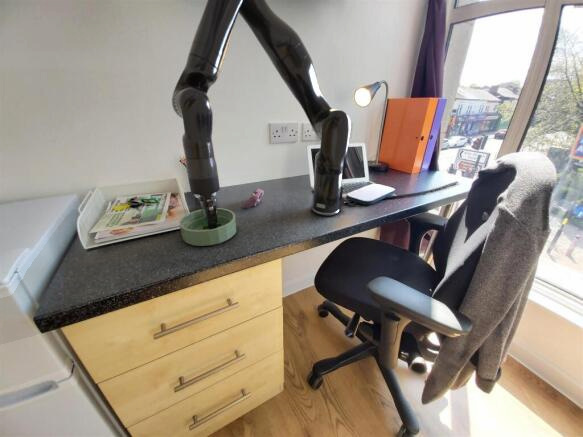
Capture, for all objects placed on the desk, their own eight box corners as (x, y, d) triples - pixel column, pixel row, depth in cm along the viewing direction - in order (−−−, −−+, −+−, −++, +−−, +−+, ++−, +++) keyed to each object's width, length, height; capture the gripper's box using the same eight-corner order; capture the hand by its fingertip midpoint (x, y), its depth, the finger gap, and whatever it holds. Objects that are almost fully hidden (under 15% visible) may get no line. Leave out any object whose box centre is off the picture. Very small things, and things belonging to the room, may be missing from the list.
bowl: (230, 218, 79) (228, 204, 77) (242, 239, 67) (241, 224, 64) (180, 228, 73) (177, 213, 70) (184, 253, 60) (181, 236, 58)
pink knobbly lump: (252, 213, 86) (259, 198, 83) (241, 207, 86) (248, 191, 83) (260, 203, 95) (267, 189, 92) (250, 197, 95) (257, 183, 92)
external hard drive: (373, 187, 110) (374, 182, 109) (397, 193, 102) (398, 188, 101) (342, 199, 96) (343, 194, 95) (367, 207, 88) (368, 202, 87)
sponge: (219, 226, 72) (218, 218, 71) (222, 232, 69) (221, 223, 68) (202, 230, 70) (200, 221, 69) (204, 236, 67) (202, 227, 66)
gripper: (223, 179, 58) (230, 239, 65) (212, 166, 69) (220, 218, 77) (190, 183, 55) (202, 245, 62) (185, 169, 66) (196, 223, 74)
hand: (212, 230), depth 69 cm, fingers closed on sponge, 4 cm apart
